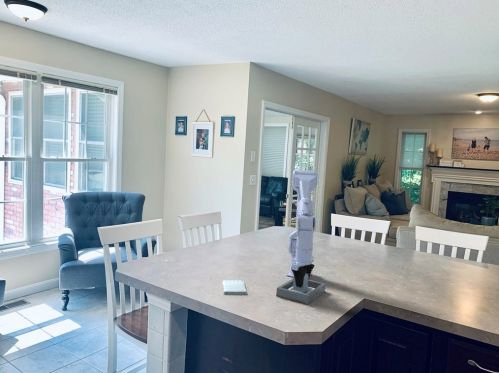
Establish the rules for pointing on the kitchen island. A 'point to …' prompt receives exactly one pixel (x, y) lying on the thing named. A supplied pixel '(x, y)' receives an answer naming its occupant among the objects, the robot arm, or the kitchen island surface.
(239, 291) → the hard drive
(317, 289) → the dock
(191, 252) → the kitchen island surface
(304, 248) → the robot arm
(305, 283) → the plug
